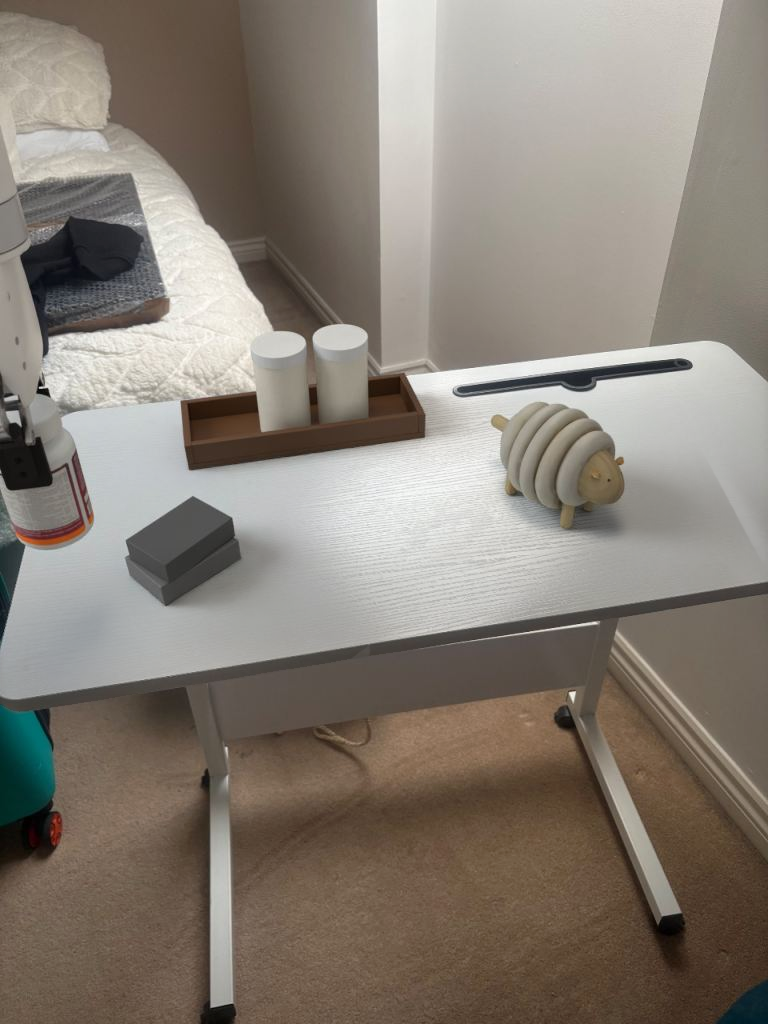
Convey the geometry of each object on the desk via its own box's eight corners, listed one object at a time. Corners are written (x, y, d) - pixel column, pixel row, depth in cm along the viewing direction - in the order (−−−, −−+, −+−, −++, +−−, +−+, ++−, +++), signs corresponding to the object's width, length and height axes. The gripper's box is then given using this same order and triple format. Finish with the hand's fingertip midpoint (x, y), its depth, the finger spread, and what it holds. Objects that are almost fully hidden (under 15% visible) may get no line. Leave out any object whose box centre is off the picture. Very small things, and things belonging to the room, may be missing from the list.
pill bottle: (48, 499, 71) (12, 383, 64) (110, 514, 69) (81, 397, 62) (0, 543, 66) (-44, 423, 59) (65, 560, 65) (28, 439, 58)
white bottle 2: (330, 438, 97) (325, 354, 90) (310, 413, 101) (304, 330, 94) (378, 425, 99) (377, 342, 92) (356, 400, 103) (353, 319, 96)
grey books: (166, 607, 77) (157, 569, 74) (128, 574, 80) (117, 537, 77) (243, 558, 82) (238, 521, 79) (204, 529, 86) (197, 492, 83)
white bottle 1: (270, 447, 96) (261, 362, 88) (252, 420, 100) (242, 338, 93) (320, 433, 98) (314, 349, 91) (300, 408, 102) (293, 326, 95)
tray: (188, 470, 93) (184, 446, 91) (184, 423, 101) (180, 400, 99) (424, 437, 98) (425, 413, 96) (404, 395, 106) (404, 372, 104)
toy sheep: (584, 559, 82) (603, 469, 75) (454, 486, 91) (459, 400, 84) (640, 510, 88) (663, 422, 81) (512, 446, 97) (522, 362, 90)
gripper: (-75, 187, 58) (-3, 407, 69) (-136, 287, 45) (-35, 538, 56) (37, 180, 60) (90, 397, 71) (9, 275, 46) (80, 522, 58)
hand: (34, 457), depth 64 cm, fingers closed on pill bottle, 6 cm apart
